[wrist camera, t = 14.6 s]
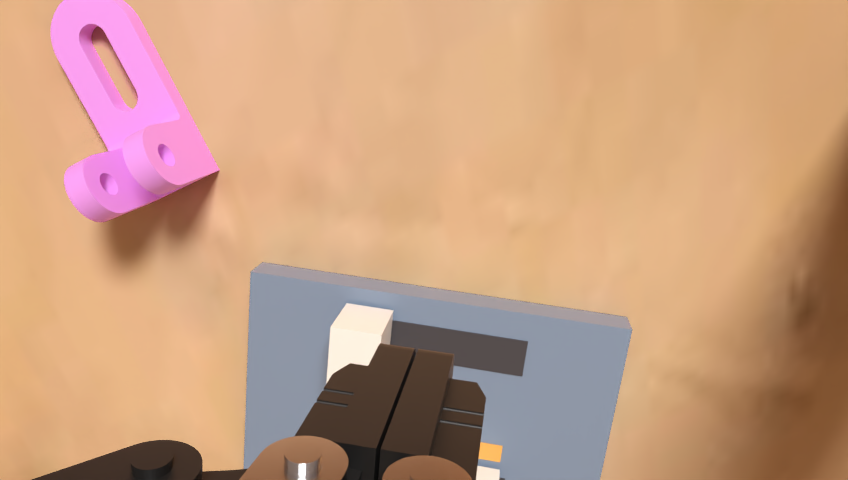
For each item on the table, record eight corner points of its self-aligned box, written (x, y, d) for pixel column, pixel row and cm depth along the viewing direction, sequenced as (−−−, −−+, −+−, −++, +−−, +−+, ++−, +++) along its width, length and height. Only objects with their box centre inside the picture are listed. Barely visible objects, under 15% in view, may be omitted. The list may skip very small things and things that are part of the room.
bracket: (220, 169, 43) (166, 190, 36) (151, 202, 44) (87, 229, 37) (119, -23, 40) (40, -39, 34) (49, 18, 42) (-40, 11, 35)
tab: (393, 310, 41) (381, 334, 38) (387, 367, 42) (375, 397, 39) (346, 303, 41) (330, 326, 38) (342, 360, 43) (325, 388, 39)
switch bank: (626, 317, 42) (632, 330, 40) (582, 526, 46) (585, 548, 44) (262, 262, 44) (250, 272, 42) (253, 467, 49) (242, 484, 47)
